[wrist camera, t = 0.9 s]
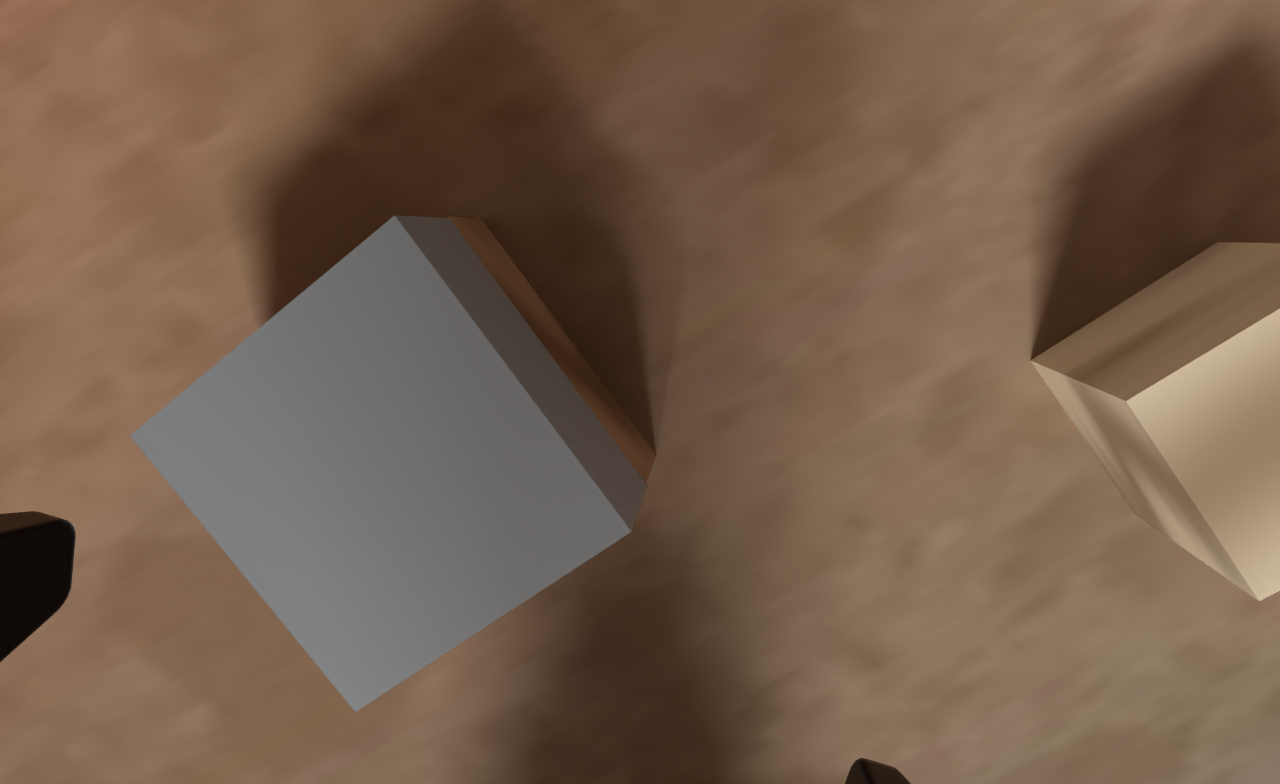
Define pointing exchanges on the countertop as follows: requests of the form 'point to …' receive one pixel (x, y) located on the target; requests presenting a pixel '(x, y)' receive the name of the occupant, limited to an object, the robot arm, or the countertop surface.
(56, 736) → the countertop surface
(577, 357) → the walnut block
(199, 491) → the slate block
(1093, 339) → the birch cube
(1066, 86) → the countertop surface
